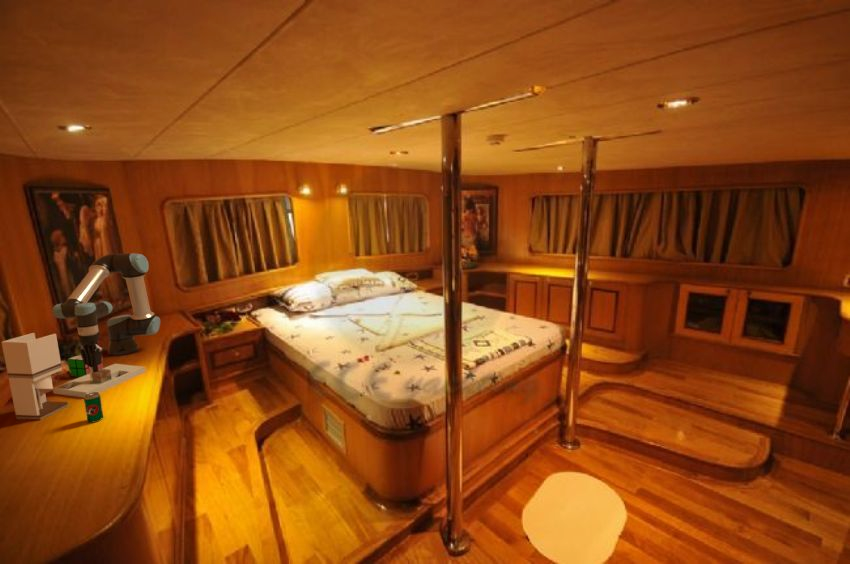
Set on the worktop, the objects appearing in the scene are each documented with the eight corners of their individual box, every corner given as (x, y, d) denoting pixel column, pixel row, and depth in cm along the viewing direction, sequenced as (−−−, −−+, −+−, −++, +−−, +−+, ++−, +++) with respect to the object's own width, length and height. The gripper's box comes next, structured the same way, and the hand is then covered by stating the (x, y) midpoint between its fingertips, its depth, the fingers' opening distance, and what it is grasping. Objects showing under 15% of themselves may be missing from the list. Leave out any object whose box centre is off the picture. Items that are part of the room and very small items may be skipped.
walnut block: (103, 377, 183) (102, 368, 182) (111, 378, 182) (110, 369, 182) (93, 381, 178) (91, 372, 178) (101, 383, 178) (100, 373, 177)
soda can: (106, 418, 153) (102, 392, 151) (92, 424, 148) (88, 398, 146) (98, 415, 155) (95, 390, 152) (84, 421, 150) (80, 396, 148)
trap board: (115, 368, 201) (115, 363, 200) (145, 371, 198) (145, 366, 197) (53, 393, 172) (52, 387, 171) (87, 398, 169) (86, 392, 168)
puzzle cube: (104, 369, 199) (102, 353, 197) (86, 377, 189) (83, 360, 187) (88, 368, 200) (86, 352, 198) (69, 376, 190) (66, 359, 188)
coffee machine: (40, 420, 150) (26, 342, 144) (16, 419, 150) (1, 341, 144) (68, 406, 161) (56, 333, 155) (45, 405, 162) (32, 332, 155)
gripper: (69, 334, 173) (75, 379, 177) (91, 337, 171) (97, 382, 175) (86, 330, 180) (92, 373, 184) (107, 332, 178) (112, 375, 182)
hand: (94, 377), depth 180 cm, fingers closed
